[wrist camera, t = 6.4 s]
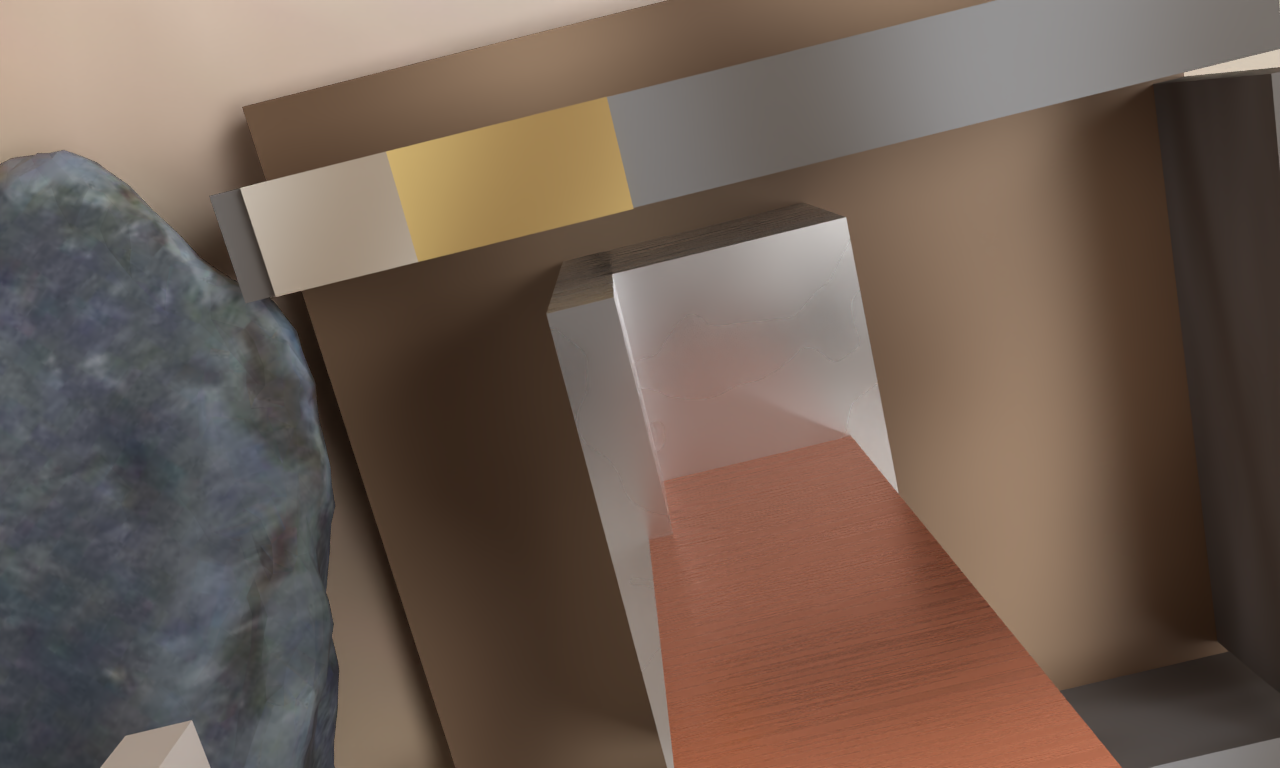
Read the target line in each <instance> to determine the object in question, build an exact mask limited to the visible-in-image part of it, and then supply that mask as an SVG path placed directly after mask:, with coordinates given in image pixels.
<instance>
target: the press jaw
mask: <svg viewBox="0 0 1280 768" xmlns="http://www.w3.org/2000/svg"><path fill="white" fill-rule="evenodd" d="M546 314H547V318H548V322H549V326H550V330H551V333H552V337H553V341H554V345H555V348H556V352H557V356H558V360H559V363H560V367H561V371H562V375H563V378H564V382H565V386H566V390H567V393H568V397H569V401H570V405H571V408H572V412H573V416H574V420H575V423H576V427H577V431H578V435H579V438H580V442H581V446H582V450H583V453H584V457H585V461H586V465H587V469H588V472H589V476H590V480H591V484H592V487H593V491H594V495H595V499H596V502H597V506H598V510H599V514H600V517H601V521H602V525H603V529H604V532H605V536H606V540H607V544H608V547H609V551H610V555H611V559H612V562H613V566H614V570H615V574H616V577H617V581H618V585H619V589H620V592H621V596H622V600H623V604H624V608H625V611H626V615H627V619H628V623H629V626H630V630H631V634H632V638H633V641H634V645H635V649H636V653H637V656H638V660H639V664H640V668H641V671H642V675H643V679H644V683H645V686H646V690H647V694H648V698H649V701H650V705H651V709H652V713H653V716H654V720H655V724H656V728H657V732H658V735H659V739H660V743H661V747H662V750H663V754H664V758H665V762H666V765H667V768H1122V767H1121V766H1120V765H1119V763H1118V762H1117V761H1116V760H1115V758H1114V757H1113V756H1112V755H1111V754H1110V752H1109V751H1108V750H1107V749H1106V747H1105V746H1104V745H1103V744H1102V742H1101V741H1100V740H1099V739H1098V738H1097V736H1096V735H1095V734H1094V733H1093V731H1092V730H1091V729H1090V728H1089V727H1088V725H1087V724H1086V723H1085V722H1084V720H1083V719H1082V718H1081V717H1080V716H1079V714H1078V713H1077V712H1076V711H1075V709H1074V708H1073V707H1072V706H1071V705H1070V703H1069V702H1068V701H1067V700H1066V698H1065V697H1064V696H1063V695H1062V693H1061V692H1060V691H1059V690H1058V689H1057V687H1056V686H1055V685H1054V684H1053V682H1052V681H1051V680H1050V679H1049V678H1048V676H1047V675H1046V674H1045V673H1044V671H1043V670H1042V669H1041V668H1040V667H1039V665H1038V664H1037V663H1036V662H1035V660H1034V659H1033V658H1032V657H1031V656H1030V654H1029V653H1028V652H1027V651H1026V649H1025V648H1024V647H1023V646H1022V644H1021V643H1020V642H1019V641H1018V640H1017V638H1016V637H1015V636H1014V635H1013V633H1012V632H1011V631H1010V630H1009V629H1008V627H1007V626H1006V625H1005V624H1004V622H1003V621H1002V620H1001V619H1000V618H999V616H998V615H997V614H996V613H995V611H994V610H993V609H992V608H991V607H990V605H989V604H988V603H987V602H986V600H985V599H984V598H983V597H982V596H981V594H980V593H979V592H978V591H977V589H976V588H975V587H974V586H973V584H972V583H971V582H970V581H969V580H968V578H967V577H966V576H965V575H964V573H963V572H962V571H961V570H960V569H959V567H958V566H957V565H956V564H955V562H954V561H953V560H952V559H951V558H950V556H949V555H948V554H947V553H946V551H945V550H944V549H943V548H942V547H941V545H940V544H939V543H938V542H937V540H936V539H935V538H934V537H933V535H932V534H931V533H930V532H929V531H928V529H927V528H926V527H925V526H924V524H923V523H922V522H921V521H920V520H919V518H918V517H917V516H916V515H915V513H914V512H913V511H912V510H911V509H910V507H909V506H908V505H907V504H906V502H905V501H904V500H903V499H902V498H901V496H900V495H899V492H898V487H897V482H896V476H895V471H894V466H893V461H892V455H891V450H890V445H889V440H888V434H887V429H886V424H885V419H884V413H883V408H882V403H881V398H880V392H879V387H878V382H877V377H876V371H875V366H874V361H873V356H872V350H871V345H870V340H869V335H868V329H867V324H866V319H865V314H864V308H863V303H862V298H861V293H860V287H859V282H858V277H857V272H856V266H855V261H854V256H853V251H852V245H851V240H850V235H849V230H848V224H847V219H846V217H844V216H841V215H839V214H836V213H833V212H830V211H827V210H824V209H821V208H818V207H815V206H813V205H810V204H807V203H800V204H796V205H792V206H787V207H783V208H779V209H775V210H771V211H767V212H763V213H759V214H755V215H751V216H747V217H743V218H739V219H734V220H730V221H726V222H722V223H718V224H714V225H710V226H706V227H702V228H698V229H694V230H690V231H686V232H681V233H677V234H673V235H669V236H665V237H661V238H657V239H653V240H649V241H645V242H641V243H637V244H633V245H628V246H624V247H620V248H616V249H612V250H608V251H604V252H600V253H596V254H592V255H588V256H584V257H580V258H575V259H571V260H567V261H563V263H562V266H561V269H560V273H559V276H558V279H557V282H556V285H555V288H554V291H553V295H552V298H551V301H550V304H549V307H548V310H547V313H546Z"/></svg>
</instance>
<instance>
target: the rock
mask: <svg viewBox="0 0 1280 768" xmlns="http://www.w3.org/2000/svg"><path fill="white" fill-rule="evenodd" d="M334 509H335V501H334V495H333V489H332V481H331V469H330V463H329V458H328V454H327V449H326V445H325V441H324V436H323V433H322V429H321V425H320V421H319V414H318V406H317V398H316V384H315V380H314V378H313V376H312V374H311V371H310V369H309V367H308V364H307V362H306V359H305V357H304V354H303V351H302V348H301V344H300V340H299V337H298V333H297V331H296V330H295V328H294V327H293V326H292V325H291V323H290V322H289V321H288V319H287V318H286V317H285V316H284V314H283V313H282V312H281V310H280V309H279V308H278V307H277V305H276V304H275V303H274V301H272V300H271V299H270V298H265V299H261V300H257V301H253V302H249V303H245V301H244V298H243V295H242V292H241V289H240V286H239V283H238V282H237V281H235V280H233V279H231V278H230V277H228V276H227V275H225V274H223V273H222V272H220V271H219V270H217V269H216V268H214V267H213V266H211V265H210V264H209V263H207V262H206V261H204V260H203V259H202V258H200V257H199V256H198V255H197V254H196V252H195V251H194V250H193V249H192V248H191V247H190V246H189V245H188V244H187V243H186V242H185V241H184V239H183V238H182V237H181V236H180V235H179V234H178V233H177V232H176V231H175V230H174V229H173V228H172V227H171V226H169V225H168V224H167V223H166V222H165V221H164V220H163V219H162V218H161V217H160V216H159V215H157V214H156V213H155V212H154V211H153V210H152V209H151V208H150V207H149V206H148V205H147V204H146V203H145V202H144V201H143V199H142V198H141V197H140V196H139V195H138V194H137V193H136V192H135V191H134V190H133V189H132V188H131V187H130V186H129V185H127V184H126V183H125V182H123V181H122V180H120V179H119V178H117V177H116V176H115V175H113V174H112V173H110V172H109V171H107V170H106V169H105V168H103V167H102V166H101V165H100V164H98V163H97V162H95V161H92V160H89V159H87V158H84V157H82V156H79V155H76V154H73V153H70V152H68V151H65V150H62V151H57V152H53V153H37V154H36V155H32V156H24V157H16V158H11V159H9V160H7V161H5V162H3V163H1V164H0V768H100V767H101V766H102V765H103V764H104V762H105V761H106V760H107V759H108V757H109V756H110V755H111V753H112V752H113V751H114V750H115V748H116V747H117V746H118V745H119V743H120V742H121V741H122V740H123V738H124V737H125V736H127V735H131V734H135V733H140V732H144V731H148V730H152V729H156V728H161V727H165V726H169V725H173V724H178V723H182V722H186V721H190V720H192V721H193V724H194V726H195V729H196V732H197V734H198V737H199V739H200V742H201V744H202V747H203V750H204V752H205V755H206V757H207V760H208V762H209V765H210V768H335V766H334V737H335V728H336V718H337V708H338V681H339V666H338V660H337V656H336V652H335V647H334V643H333V639H332V632H333V625H334V623H333V619H332V614H331V609H330V604H329V600H328V597H327V594H326V587H327V576H328V565H329V554H330V535H331V522H332V518H333V513H334Z"/></svg>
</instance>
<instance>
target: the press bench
mask: <svg viewBox="0 0 1280 768" xmlns="http://www.w3.org/2000/svg"><path fill="white" fill-rule="evenodd" d="M1277 49H1280V6H1279V0H667V1H663V2H659V3H655V4H651V5H647V6H643V7H639V8H635V9H631V10H627V11H623V12H619V13H615V14H611V15H607V16H603V17H599V18H595V19H591V20H587V21H583V22H579V23H575V24H571V25H567V26H563V27H559V28H555V29H551V30H547V31H543V32H539V33H535V34H531V35H527V36H523V37H519V38H515V39H511V40H507V41H503V42H499V43H495V44H491V45H487V46H483V47H479V48H475V49H472V50H468V51H464V52H460V53H456V54H452V55H448V56H444V57H440V58H436V59H432V60H428V61H424V62H420V63H416V64H412V65H408V66H404V67H400V68H396V69H392V70H388V71H384V72H380V73H376V74H372V75H368V76H364V77H360V78H356V79H352V80H348V81H344V82H340V83H336V84H332V85H328V86H324V87H320V88H316V89H312V90H308V91H304V92H300V93H296V94H292V95H288V96H284V97H280V98H276V99H272V100H268V101H264V102H260V103H256V104H252V105H248V106H244V107H242V108H243V111H244V114H245V117H246V120H247V124H248V127H249V130H250V133H251V136H252V139H253V142H254V145H255V148H256V151H257V155H258V158H259V161H260V164H261V167H262V170H263V173H264V176H265V179H266V182H262V183H258V184H254V185H250V186H246V187H242V188H240V189H236V190H232V191H228V192H224V193H219V194H215V195H211V196H209V197H210V200H211V203H212V206H213V209H214V212H215V215H216V218H217V221H218V224H219V227H220V229H221V232H222V235H223V238H224V241H225V244H226V247H227V250H228V253H229V256H230V259H231V262H232V265H233V268H234V271H235V274H236V277H237V280H238V283H239V286H240V289H241V292H242V295H243V298H244V301H245V303H249V302H253V301H257V300H261V299H265V298H269V297H273V296H276V297H278V296H282V295H286V294H290V293H294V292H298V291H302V294H303V297H304V300H305V303H306V306H307V310H308V313H309V316H310V319H311V322H312V325H313V328H314V331H315V334H316V337H317V341H318V344H319V347H320V350H321V353H322V356H323V359H324V362H325V365H326V368H327V372H328V375H329V378H330V381H331V384H332V387H333V390H334V393H335V396H336V399H337V402H338V406H339V409H340V412H341V415H342V418H343V421H344V424H345V427H346V430H347V433H348V437H349V440H350V443H351V446H352V449H353V452H354V455H355V458H356V461H357V464H358V468H359V471H360V474H361V477H362V480H363V483H364V486H365V489H366V492H367V495H368V499H369V502H370V505H371V508H372V511H373V514H374V517H375V520H376V523H377V526H378V530H379V533H380V536H381V539H382V542H383V545H384V548H385V551H386V554H387V557H388V561H389V564H390V567H391V570H392V573H393V576H394V579H395V582H396V585H397V588H398V592H399V595H400V598H401V601H402V604H403V607H404V610H405V613H406V616H407V619H408V623H409V626H410V629H411V632H412V635H413V638H414V641H415V644H416V647H417V650H418V654H419V657H420V660H421V663H422V666H423V669H424V672H425V675H426V678H427V681H428V685H429V688H430V691H431V694H432V697H433V700H434V703H435V706H436V709H437V712H438V716H439V719H440V722H441V725H442V728H443V731H444V734H445V737H446V740H447V743H448V747H449V750H450V753H451V756H452V759H453V762H454V765H455V768H667V765H666V762H665V758H664V754H663V750H662V747H661V743H660V739H659V735H658V732H657V728H656V724H655V720H654V716H653V713H652V709H651V705H650V701H649V698H648V694H647V690H646V686H645V683H644V679H643V675H642V671H641V668H640V664H639V660H638V656H637V653H636V649H635V645H634V641H633V638H632V634H631V630H630V626H629V623H628V619H627V615H626V611H625V608H624V604H623V600H622V596H621V592H620V589H619V585H618V581H617V577H616V574H615V570H614V566H613V562H612V559H611V555H610V551H609V547H608V544H607V540H606V536H605V532H604V529H603V525H602V521H601V517H600V514H599V510H598V506H597V502H596V499H595V495H594V491H593V487H592V484H591V480H590V476H589V472H588V469H587V465H586V461H585V457H584V453H583V450H582V446H581V442H580V438H579V435H578V431H577V427H576V423H575V420H574V416H573V412H572V408H571V405H570V401H569V397H568V393H567V390H566V386H565V382H564V378H563V375H562V371H561V367H560V363H559V360H558V356H557V352H556V348H555V345H554V341H553V337H552V333H551V330H550V326H549V322H548V318H547V314H546V313H547V310H548V307H549V304H550V301H551V298H552V295H553V291H554V288H555V285H556V282H557V279H558V276H559V273H560V269H561V266H562V263H563V261H567V260H571V259H575V258H580V257H584V256H588V255H592V254H596V253H600V252H604V251H608V250H612V249H616V248H620V247H624V246H628V245H633V244H637V243H641V242H645V241H649V240H653V239H657V238H661V237H665V236H669V235H673V234H677V233H681V232H686V231H690V230H694V229H698V228H702V227H706V226H710V225H714V224H718V223H722V222H726V221H730V220H734V219H739V218H743V217H747V216H751V215H755V214H759V213H763V212H767V211H771V210H775V209H779V208H783V207H787V206H792V205H796V204H800V203H807V204H810V205H813V206H815V207H818V208H821V209H824V210H827V211H830V212H833V213H836V214H839V215H841V216H844V217H846V219H847V224H848V230H849V235H850V240H851V245H852V251H853V256H854V261H855V266H856V272H857V277H858V282H859V287H860V293H861V298H862V303H863V308H864V314H865V319H866V324H867V329H868V335H869V340H870V345H871V350H872V356H873V361H874V366H875V371H876V377H877V382H878V387H879V392H880V398H881V403H882V408H883V413H884V419H885V424H886V429H887V434H888V440H889V445H890V450H891V455H892V461H893V466H894V471H895V476H896V482H897V487H898V492H899V495H900V496H901V498H902V499H903V500H904V501H905V502H906V504H907V505H908V506H909V507H910V509H911V510H912V511H913V512H914V513H915V515H916V516H917V517H918V518H919V520H920V521H921V522H922V523H923V524H924V526H925V527H926V528H927V529H928V531H929V532H930V533H931V534H932V535H933V537H934V538H935V539H936V540H937V542H938V543H939V544H940V545H941V547H942V548H943V549H944V550H945V551H946V553H947V554H948V555H949V556H950V558H951V559H952V560H953V561H954V562H955V564H956V565H957V566H958V567H959V569H960V570H961V571H962V572H963V573H964V575H965V576H966V577H967V578H968V580H969V581H970V582H971V583H972V584H973V586H974V587H975V588H976V589H977V591H978V592H979V593H980V594H981V596H982V597H983V598H984V599H985V600H986V602H987V603H988V604H989V605H990V607H991V608H992V609H993V610H994V611H995V613H996V614H997V615H998V616H999V618H1000V619H1001V620H1002V621H1003V622H1004V624H1005V625H1006V626H1007V627H1008V629H1009V630H1010V631H1011V632H1012V633H1013V635H1014V636H1015V637H1016V638H1017V640H1018V641H1019V642H1020V643H1021V644H1022V646H1023V647H1024V648H1025V649H1026V651H1027V652H1028V653H1029V654H1030V656H1031V657H1032V658H1033V659H1034V660H1035V662H1036V663H1037V664H1038V665H1039V667H1040V668H1041V669H1042V670H1043V671H1044V673H1045V674H1046V675H1047V676H1048V678H1049V679H1050V680H1051V681H1052V682H1053V684H1054V685H1055V686H1056V687H1057V689H1058V690H1059V691H1060V692H1061V693H1062V695H1063V696H1064V697H1065V698H1066V700H1067V701H1068V702H1069V703H1070V705H1071V706H1072V707H1073V708H1074V709H1075V711H1076V712H1077V713H1078V714H1079V716H1080V717H1081V718H1082V719H1083V720H1084V722H1085V723H1086V724H1087V725H1088V727H1089V728H1090V729H1091V730H1092V731H1093V733H1094V734H1095V735H1096V736H1097V738H1098V739H1099V740H1100V741H1101V742H1102V744H1103V745H1104V746H1105V747H1106V749H1107V750H1108V751H1109V752H1110V754H1111V755H1112V756H1113V757H1114V758H1115V760H1116V761H1117V762H1118V763H1119V765H1120V766H1121V767H1122V768H1280V67H1278V68H1268V69H1258V70H1247V71H1237V72H1227V73H1216V74H1206V75H1196V76H1186V77H1184V72H1188V71H1192V70H1196V69H1200V68H1204V67H1208V66H1212V65H1216V64H1220V63H1224V62H1228V61H1232V60H1236V59H1240V58H1244V57H1248V56H1253V55H1257V54H1261V53H1265V52H1269V51H1273V50H1277Z"/></svg>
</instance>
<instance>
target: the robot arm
mask: <svg viewBox="0 0 1280 768" xmlns="http://www.w3.org/2000/svg"><path fill="white" fill-rule="evenodd" d="M100 768H210V765H209V762H208V760H207V757H206V755H205V752H204V750H203V747H202V744H201V742H200V739H199V737H198V734H197V732H196V729H195V726H194V724H193V721H192V720H190V721H186V722H182V723H178V724H173V725H169V726H165V727H161V728H156V729H152V730H148V731H144V732H140V733H135V734H131V735H127V736H125V737H124V738H123V740H122V741H121V742H120V743H119V745H118V746H117V747H116V748H115V750H114V751H113V752H112V753H111V755H110V756H109V757H108V759H107V760H106V761H105V762H104V764H103V765H102V766H101V767H100Z"/></svg>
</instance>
